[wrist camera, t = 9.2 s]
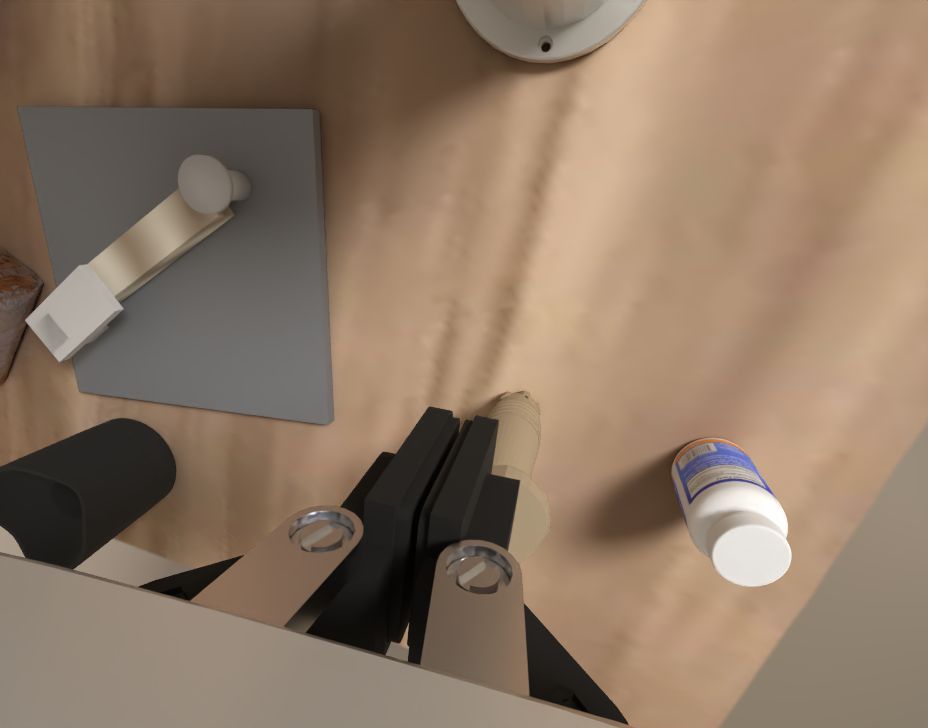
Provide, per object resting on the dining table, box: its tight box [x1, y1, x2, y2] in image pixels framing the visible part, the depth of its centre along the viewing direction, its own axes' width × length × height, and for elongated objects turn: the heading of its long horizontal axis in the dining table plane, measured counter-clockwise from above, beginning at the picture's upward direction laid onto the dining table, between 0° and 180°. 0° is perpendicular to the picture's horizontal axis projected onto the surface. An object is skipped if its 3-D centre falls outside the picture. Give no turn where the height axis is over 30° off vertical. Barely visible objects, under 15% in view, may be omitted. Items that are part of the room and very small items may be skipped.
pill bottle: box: [671, 438, 791, 587], centre depth 32 cm, size 5×5×10 cm
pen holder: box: [0, 418, 176, 570], centre depth 43 cm, size 9×9×10 cm
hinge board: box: [17, 106, 334, 425], centre depth 38 cm, size 23×24×5 cm
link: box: [88, 188, 234, 303], centre depth 38 cm, size 15×3×2 cm, turn 121°
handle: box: [487, 391, 550, 563], centre depth 31 cm, size 5×6×15 cm
